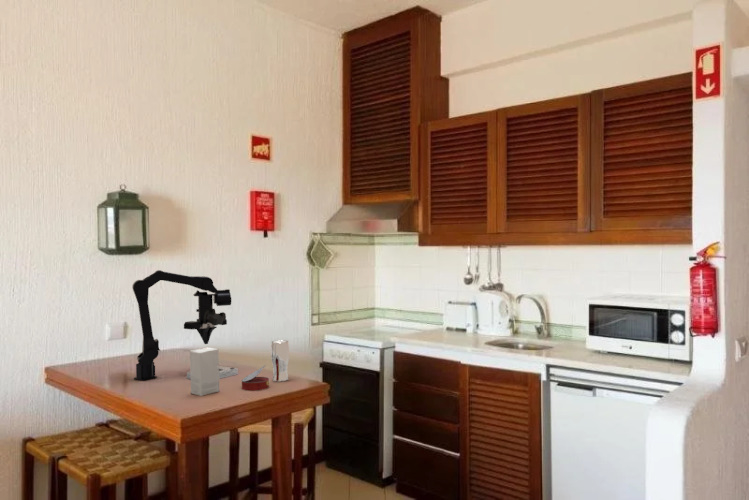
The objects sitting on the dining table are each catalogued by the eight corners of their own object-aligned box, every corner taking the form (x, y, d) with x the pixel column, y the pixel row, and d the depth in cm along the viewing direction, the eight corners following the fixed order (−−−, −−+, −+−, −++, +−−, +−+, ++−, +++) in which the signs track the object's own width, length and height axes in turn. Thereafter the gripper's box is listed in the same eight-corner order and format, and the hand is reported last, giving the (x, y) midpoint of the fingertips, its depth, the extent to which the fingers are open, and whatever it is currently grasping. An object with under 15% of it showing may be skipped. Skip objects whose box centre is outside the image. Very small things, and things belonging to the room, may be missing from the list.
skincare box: (209, 389, 218) (209, 346, 218) (220, 391, 214) (220, 348, 214) (189, 393, 212) (189, 350, 212) (200, 396, 207) (199, 351, 207)
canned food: (259, 403, 216) (252, 381, 211) (239, 397, 221) (231, 376, 216) (278, 383, 224) (272, 362, 219) (258, 377, 229) (251, 357, 225)
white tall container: (285, 382, 228) (285, 343, 228) (268, 381, 229) (268, 342, 229) (291, 378, 235) (291, 340, 235) (275, 377, 236) (274, 340, 236)
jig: (207, 381, 231) (207, 374, 231) (186, 378, 237) (186, 371, 237) (237, 374, 244) (237, 367, 244) (217, 371, 251) (217, 364, 251)
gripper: (201, 309, 236) (202, 348, 236) (235, 305, 252) (236, 342, 252) (182, 308, 242) (183, 346, 242) (217, 304, 258) (217, 340, 258)
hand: (206, 344), depth 248 cm, fingers closed
